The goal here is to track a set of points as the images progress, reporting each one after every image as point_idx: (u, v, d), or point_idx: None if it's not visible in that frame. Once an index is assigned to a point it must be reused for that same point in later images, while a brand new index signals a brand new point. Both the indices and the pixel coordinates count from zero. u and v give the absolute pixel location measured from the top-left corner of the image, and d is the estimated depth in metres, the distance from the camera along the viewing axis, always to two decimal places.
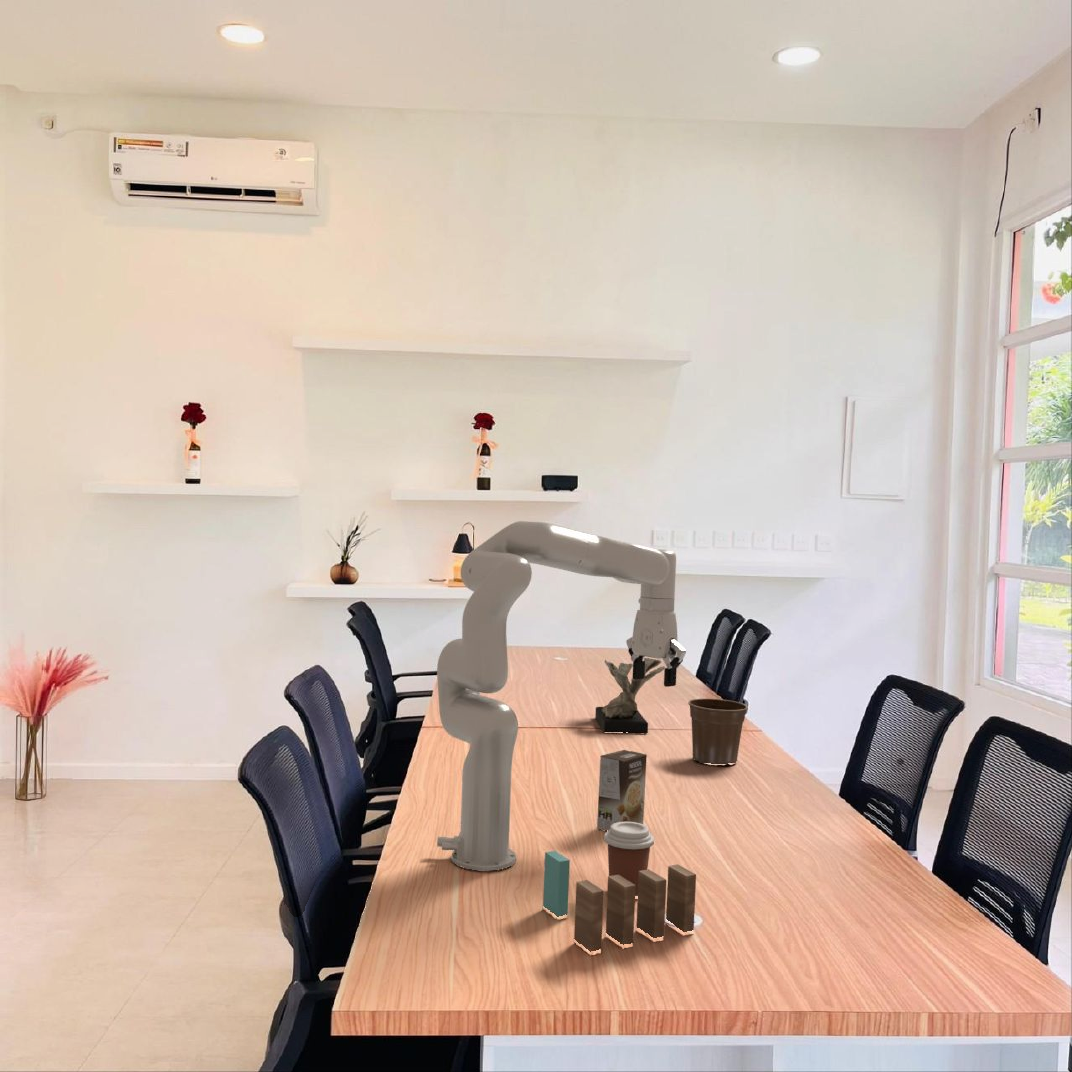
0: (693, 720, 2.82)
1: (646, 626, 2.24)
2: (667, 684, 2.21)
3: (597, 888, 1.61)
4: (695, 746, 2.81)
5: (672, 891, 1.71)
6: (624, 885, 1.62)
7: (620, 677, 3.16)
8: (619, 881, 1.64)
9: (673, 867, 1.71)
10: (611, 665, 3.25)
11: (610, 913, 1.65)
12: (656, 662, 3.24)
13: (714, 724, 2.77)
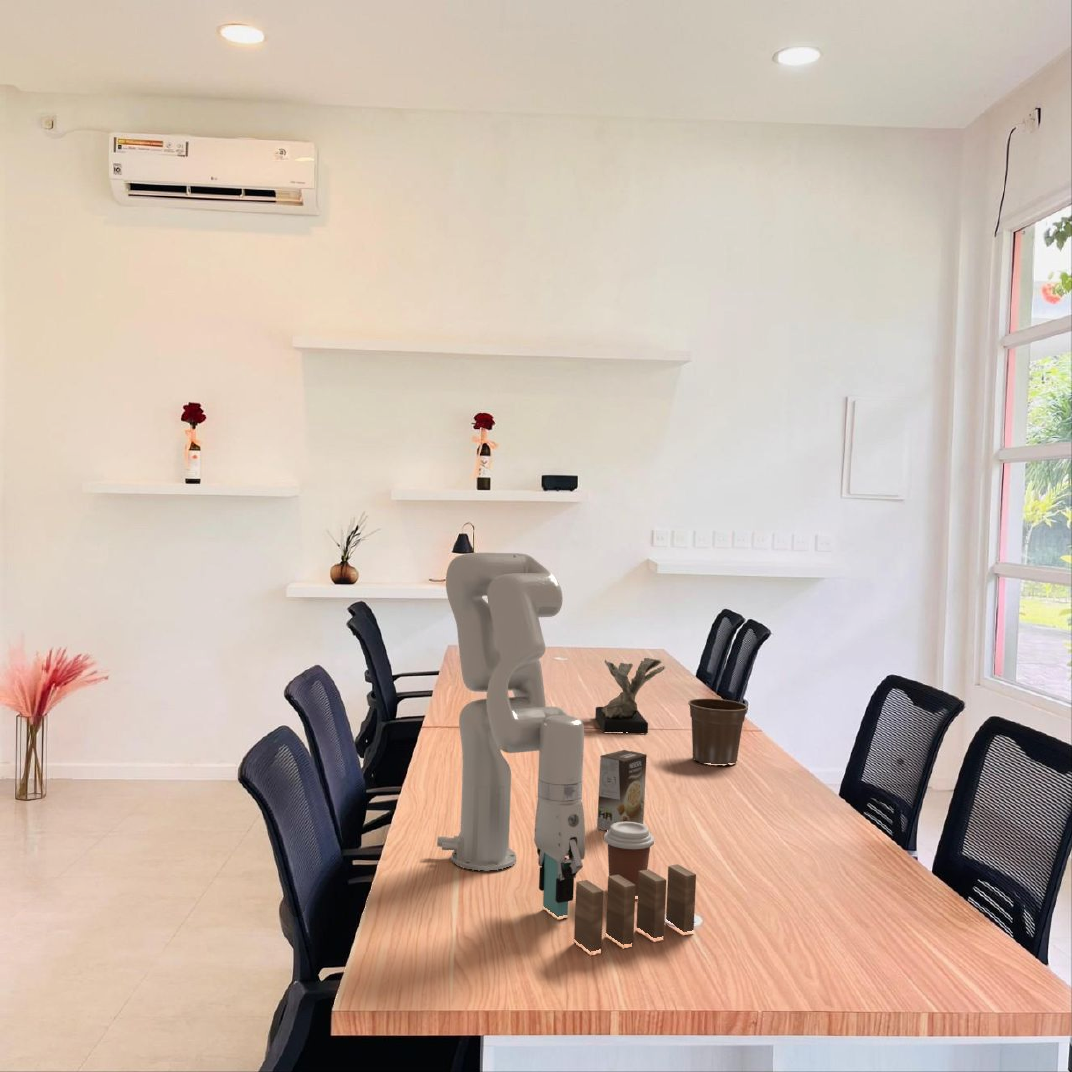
0: (693, 720, 2.82)
1: None
2: None
3: (597, 888, 1.60)
4: (695, 746, 2.81)
5: (672, 891, 1.71)
6: (624, 885, 1.62)
7: (620, 677, 3.16)
8: (619, 881, 1.64)
9: (673, 867, 1.71)
10: (611, 665, 3.25)
11: (611, 913, 1.65)
12: (656, 662, 3.24)
13: (714, 724, 2.77)
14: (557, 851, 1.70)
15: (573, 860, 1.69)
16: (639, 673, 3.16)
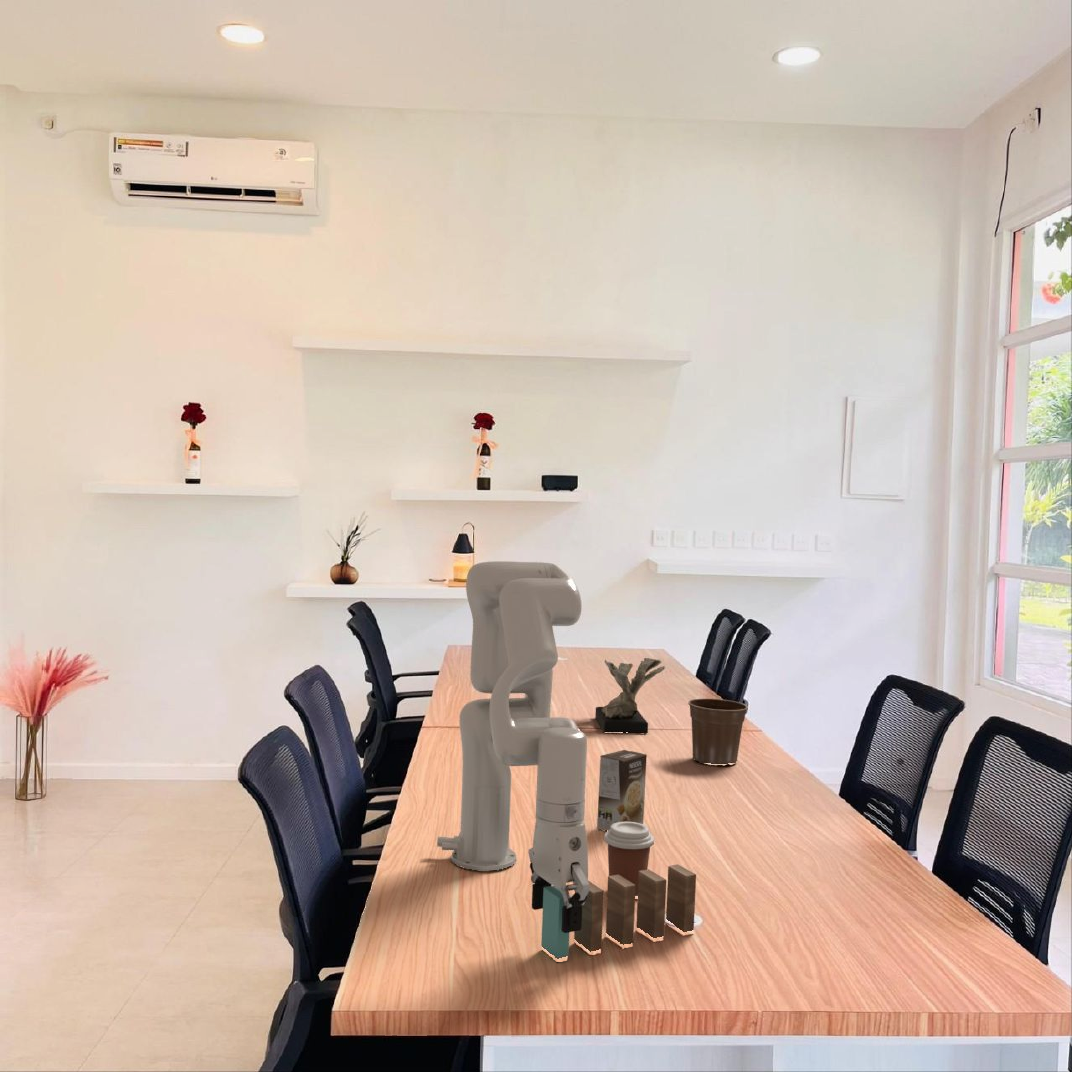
0: (693, 720, 2.82)
1: None
2: None
3: (597, 888, 1.60)
4: (695, 746, 2.81)
5: (672, 891, 1.71)
6: (624, 885, 1.62)
7: (620, 677, 3.16)
8: (619, 881, 1.64)
9: (673, 867, 1.71)
10: (611, 665, 3.25)
11: (610, 913, 1.65)
12: (656, 662, 3.24)
13: (714, 724, 2.77)
14: (557, 878, 1.54)
15: (579, 882, 1.52)
16: (639, 673, 3.16)
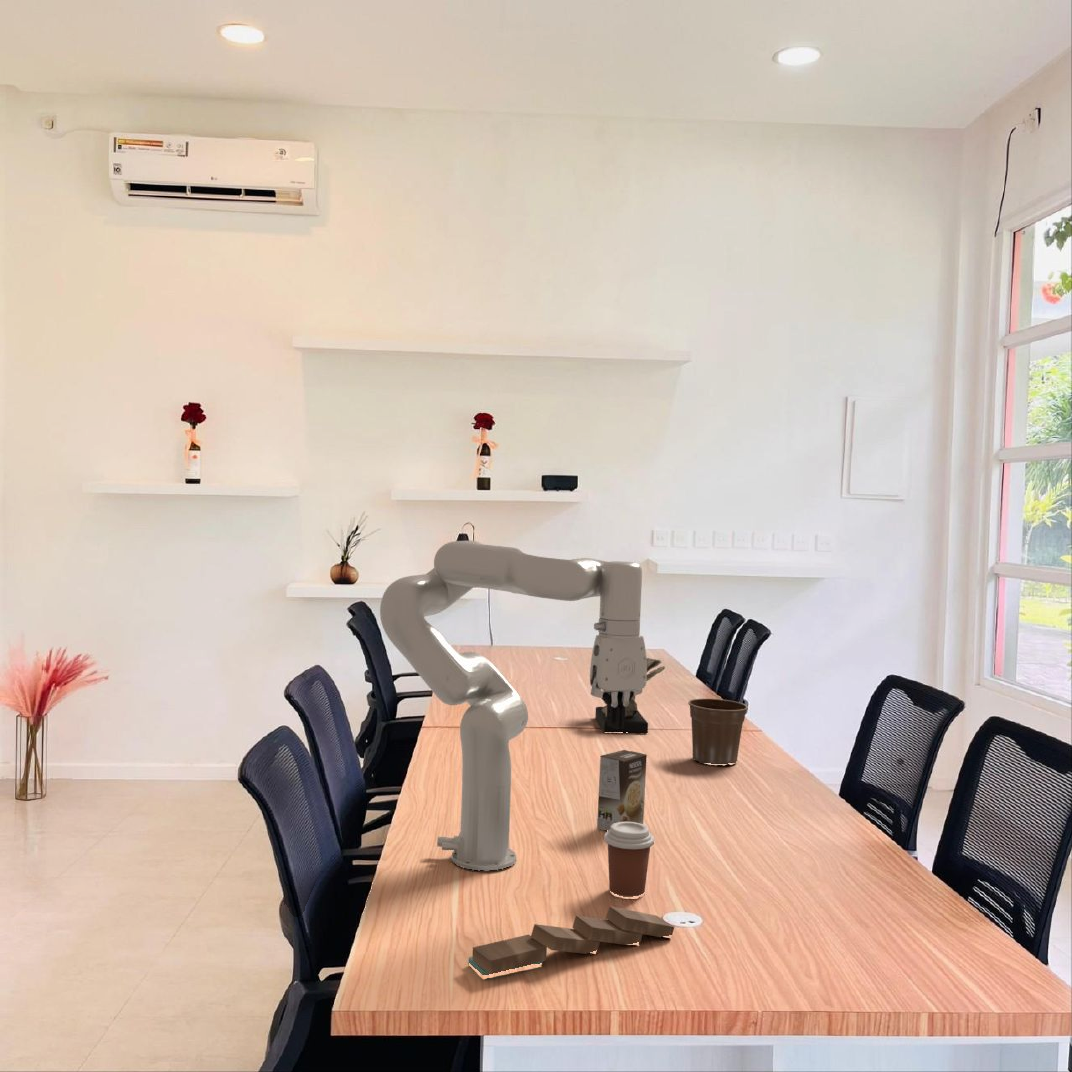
0: (693, 720, 2.82)
1: (626, 655, 1.86)
2: None
3: (485, 960, 1.50)
4: (695, 746, 2.81)
5: None
6: (549, 946, 1.54)
7: None
8: (542, 940, 1.55)
9: (609, 917, 1.65)
10: None
11: None
12: (656, 662, 3.24)
13: (714, 724, 2.77)
14: None
15: None
16: None
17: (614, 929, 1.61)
